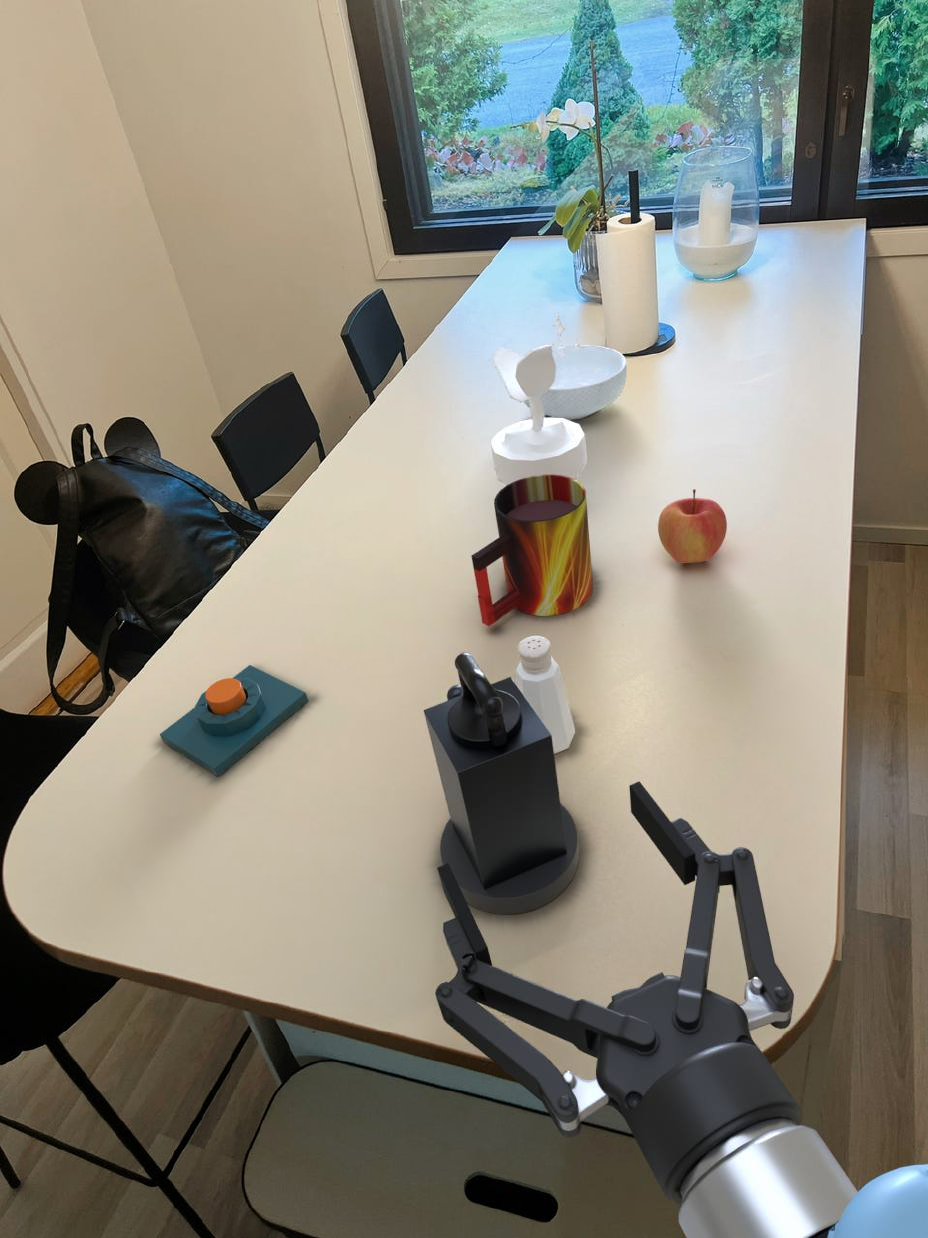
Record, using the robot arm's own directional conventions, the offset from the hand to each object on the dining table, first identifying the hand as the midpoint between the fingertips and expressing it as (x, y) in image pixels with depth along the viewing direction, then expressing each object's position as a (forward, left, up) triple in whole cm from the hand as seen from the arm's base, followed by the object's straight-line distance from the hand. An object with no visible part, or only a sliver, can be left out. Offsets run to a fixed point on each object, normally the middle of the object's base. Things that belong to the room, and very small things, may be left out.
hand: (542, 836), depth 57 cm
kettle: (+2, +11, -10) cm, 15 cm away
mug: (+23, +35, -12) cm, 44 cm away
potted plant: (+36, +52, -12) cm, 64 cm away
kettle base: (+2, +9, -12) cm, 15 cm away
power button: (-11, +40, -9) cm, 42 cm away
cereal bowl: (+56, +72, -12) cm, 91 cm away
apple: (+40, +30, -12) cm, 52 cm away
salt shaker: (+12, +18, -12) cm, 24 cm away
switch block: (-12, +40, -12) cm, 43 cm away
